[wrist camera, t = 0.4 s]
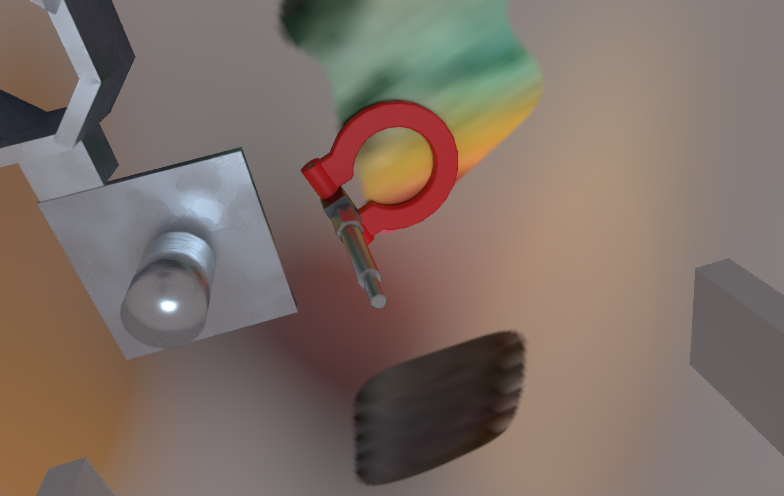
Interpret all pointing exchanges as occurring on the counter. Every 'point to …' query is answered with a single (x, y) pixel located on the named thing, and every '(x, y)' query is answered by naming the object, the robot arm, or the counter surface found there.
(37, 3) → the grey piece
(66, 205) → the square plate with knob
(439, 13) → the counter surface
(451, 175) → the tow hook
